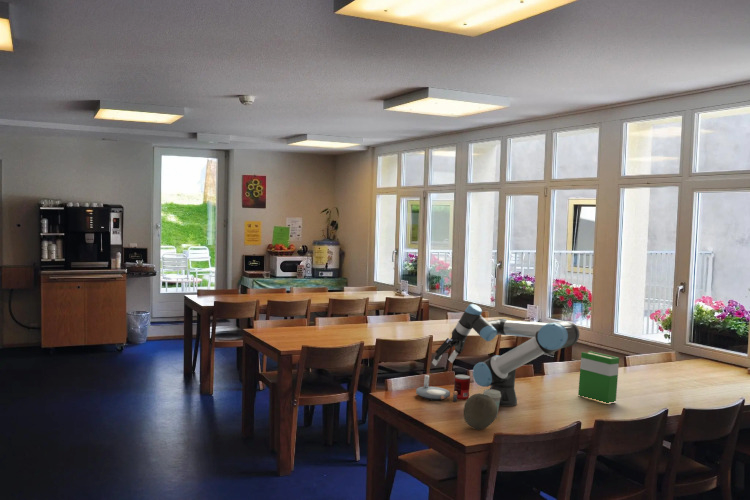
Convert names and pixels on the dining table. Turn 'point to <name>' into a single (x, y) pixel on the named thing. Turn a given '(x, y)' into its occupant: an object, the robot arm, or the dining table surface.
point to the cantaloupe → (480, 411)
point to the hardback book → (598, 376)
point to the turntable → (432, 391)
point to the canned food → (462, 386)
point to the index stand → (441, 399)
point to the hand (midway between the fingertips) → (442, 362)
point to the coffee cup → (493, 396)
